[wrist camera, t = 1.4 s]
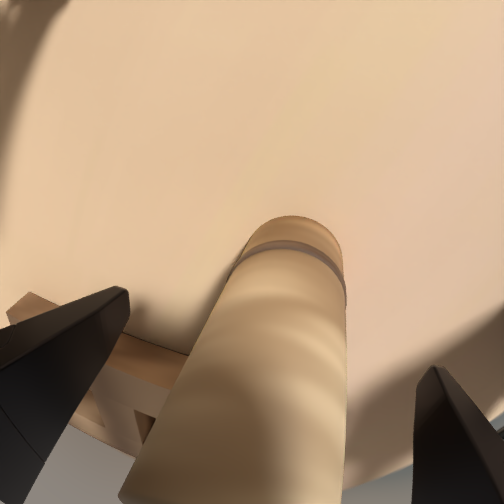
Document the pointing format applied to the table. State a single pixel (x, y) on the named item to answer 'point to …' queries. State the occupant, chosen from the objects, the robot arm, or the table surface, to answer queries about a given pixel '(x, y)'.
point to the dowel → (259, 384)
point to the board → (119, 385)
